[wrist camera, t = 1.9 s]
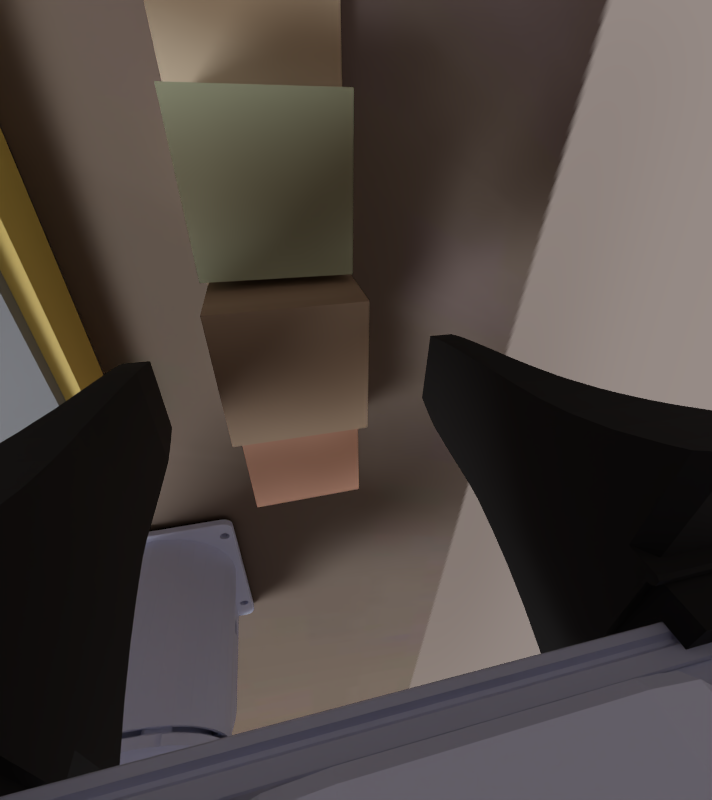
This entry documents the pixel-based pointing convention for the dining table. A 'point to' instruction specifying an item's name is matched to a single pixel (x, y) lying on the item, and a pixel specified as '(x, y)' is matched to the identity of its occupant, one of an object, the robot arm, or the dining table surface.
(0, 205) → the dock
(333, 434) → the block
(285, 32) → the board
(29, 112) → the dining table surface
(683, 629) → the robot arm
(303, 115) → the block
